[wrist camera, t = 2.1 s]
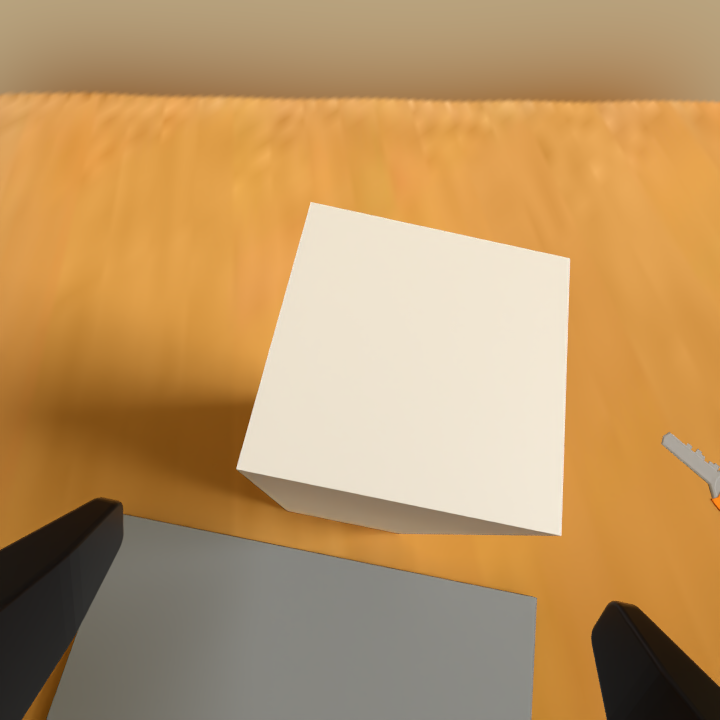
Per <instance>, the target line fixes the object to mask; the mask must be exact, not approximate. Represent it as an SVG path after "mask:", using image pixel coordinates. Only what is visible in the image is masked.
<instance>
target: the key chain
mask: <svg viewBox="0 0 720 720" xmlns="http://www.w3.org/2000/svg"><path fill="white" fill-rule="evenodd" d="M662 445H663V446H664V447H666V448H667V449H668V450H669V451H670V452H671V453H673V454H674V455H675V456H676V457H677V458H678V459H680V460H681V461H682V462H683V463H684V464H685V465H687V466H688V467H689V468H690V469H691V470H693V471H694V472H695V473H696V474H697V475H699V476H700V477H701V478H702V479H703V480H705V481H706V482H707V483H708V484H709V488H710V492H711V495H712V498H713V499H711V500H712V502H713V503H714V504H715V505H716V506H717V508H718V509H719V510H720V471H717V470H718V469H719V466H718V465H717V464H716V463H715V464H713V463H712V462H710V461H709V463H707V462H705V461H704V459H705V457H704V456H703V455H702V454H701V453H702V452H701V451H700V450H699V449H697V451H696V452H695V453H694V452H693V451H692V450H691V448H692V446H691V445H690V444H687V446H686V445H685V444H683V443H682V442H681V441H680V440H678V439H677V438H676V437H675V436H674V435H672V434H671V433H670V432H669V433H667V434H666V435H664V436H663V439H662Z"/></svg>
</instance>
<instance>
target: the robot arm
mask: <svg viewBox="0 0 720 720" xmlns="http://www.w3.org/2000/svg"><path fill="white" fill-rule="evenodd" d="M123 535H124V528H123V505H122V503H121V502H120V501H117V500H112V499H107V498H102V497H100V498H96V499H93V500H91V501H90V502H88V503H86V504H84V505H82V506H80V507H78V508H77V509H75V510H73V511H71V512H69V513H67V514H66V515H64V516H62V517H60V518H58V519H56V520H54V521H53V522H51V523H49V524H47V525H45V526H43V527H42V528H40V529H38V530H36V531H34V532H32V533H31V534H29V535H27V536H25V537H23V538H21V539H19V540H18V541H16V542H14V543H12V544H10V545H8V546H7V547H5V548H3V549H1V550H0V720H22V718H23V717H24V715H25V714H26V712H27V710H28V709H29V707H30V706H31V704H32V703H33V701H34V699H35V698H36V696H37V695H38V693H39V692H40V690H41V689H42V687H43V685H44V684H45V682H46V681H47V679H48V678H49V676H50V674H51V673H52V671H53V670H54V668H55V667H56V665H57V663H58V662H59V660H60V659H61V657H62V656H63V654H64V652H65V651H66V649H67V648H68V646H69V644H70V643H71V641H72V639H73V638H74V636H75V634H76V633H77V631H78V629H79V627H80V625H81V623H82V622H83V620H84V618H85V616H86V614H87V612H88V610H89V608H90V606H91V604H92V602H93V600H94V598H95V596H96V594H97V592H98V590H99V588H100V586H101V584H102V582H103V580H104V579H105V577H106V575H107V573H108V571H109V569H110V567H111V565H112V563H113V561H114V559H115V557H116V555H117V553H118V551H119V549H120V547H121V544H122V541H123ZM591 640H592V647H593V652H594V657H595V662H596V667H597V672H598V677H599V682H600V687H601V692H602V697H603V702H604V707H605V712H606V717H607V720H720V687H719V686H718V685H717V684H716V683H715V682H714V681H713V680H712V679H711V678H710V677H709V676H708V675H707V674H706V673H705V672H704V671H703V670H702V669H701V668H700V667H699V666H698V665H697V664H696V663H695V662H694V661H693V660H691V659H690V658H689V657H688V656H687V655H686V654H685V653H684V652H683V651H682V650H681V649H680V648H679V647H678V646H677V645H676V644H675V643H674V642H673V641H672V640H671V639H670V638H669V637H668V636H667V635H666V634H665V633H664V632H663V631H662V630H661V629H660V628H659V627H658V626H657V625H656V624H655V623H654V622H653V621H652V620H651V619H650V618H649V617H648V616H647V615H646V614H644V613H643V612H642V611H641V610H640V609H639V608H638V607H637V606H635V605H633V604H628V603H624V602H619V601H612V602H610V603H609V604H608V605H607V606H606V608H605V610H604V611H603V613H602V614H601V616H600V618H599V619H598V621H597V623H596V624H595V626H594V628H593V630H592V636H591Z"/></svg>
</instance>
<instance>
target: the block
mask: <svg viewBox="0 0 720 720" xmlns="http://www.w3.org/2000/svg"><path fill="white" fill-rule="evenodd" d="M569 275H570V258H566V257H561V256H557V255H552V254H547V253H543V252H538V251H534V250H529V249H524V248H520V247H515V246H511V245H506V244H501V243H497V242H492V241H488V240H483V239H478V238H474V237H469V236H465V235H460V234H455V233H451V232H446V231H442V230H437V229H432V228H428V227H423V226H419V225H414V224H409V223H405V222H400V221H396V220H391V219H386V218H382V217H377V216H373V215H368V214H363V213H359V212H354V211H350V210H345V209H340V208H336V207H331V206H327V205H322V204H317V203H313V202H311V204H310V207H309V211H308V214H307V218H306V221H305V225H304V229H303V232H302V236H301V239H300V243H299V246H298V250H297V254H296V257H295V261H294V264H293V268H292V271H291V275H290V279H289V282H288V286H287V289H286V293H285V296H284V300H283V304H282V307H281V311H280V314H279V318H278V321H277V325H276V329H275V332H274V336H273V339H272V343H271V346H270V350H269V354H268V357H267V361H266V364H265V368H264V371H263V375H262V379H261V382H260V386H259V389H258V393H257V396H256V400H255V404H254V407H253V411H252V414H251V418H250V421H249V425H248V429H247V432H246V436H245V439H244V443H243V446H242V450H241V453H240V457H239V461H238V464H237V468H236V469H237V470H238V471H239V472H240V473H241V474H243V475H244V476H245V477H246V478H248V479H249V480H250V481H251V482H252V483H254V484H255V485H256V486H257V487H259V488H260V489H261V490H262V491H264V492H265V493H266V494H267V495H268V496H270V497H271V498H272V499H273V500H275V501H276V502H277V503H278V504H279V505H281V506H282V507H283V508H284V509H286V510H287V511H290V512H295V513H300V514H305V515H310V516H315V517H320V518H324V519H329V520H334V521H339V522H344V523H349V524H354V525H359V526H364V527H369V528H374V529H378V530H383V531H388V532H393V533H398V534H463V535H541V536H561V529H562V498H563V466H564V434H565V402H566V371H567V339H568V307H569Z"/></svg>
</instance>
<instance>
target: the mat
mask: <svg viewBox="0 0 720 720" xmlns="http://www.w3.org/2000/svg"><path fill="white" fill-rule="evenodd" d="M123 528H124V535H123V541H122V544H121V547H120V549H119V551H118V553H117V555H116V557H115V559H114V561H113V563H112V565H111V567H110V569H109V571H108V573H107V575H106V577H105V579H104V580H103V582H102V584H101V586H100V588H99V590H98V592H97V594H96V596H95V598H94V600H93V602H92V604H91V606H90V608H89V610H88V612H87V614H86V616H85V618H84V620H83V622H82V623H81V625H80V627H79V629H78V632H77V635H76V638H75V641H74V643H73V646H72V649H71V652H70V655H69V657H68V660H67V663H66V666H65V669H64V671H63V674H62V677H61V680H60V683H59V685H58V688H57V691H56V694H55V697H54V699H53V702H52V705H51V708H50V711H49V713H48V716H47V719H46V720H531V713H532V692H533V670H534V649H535V627H536V605H537V598H535V597H532V596H527V595H522V594H517V593H512V592H507V591H502V590H497V589H492V588H487V587H482V586H477V585H472V584H467V583H462V582H457V581H452V580H447V579H442V578H438V577H433V576H428V575H423V574H418V573H413V572H408V571H403V570H398V569H393V568H388V567H383V566H378V565H373V564H368V563H363V562H358V561H353V560H348V559H343V558H338V557H334V556H329V555H324V554H319V553H314V552H309V551H304V550H299V549H294V548H289V547H284V546H279V545H274V544H269V543H264V542H259V541H254V540H249V539H244V538H239V537H234V536H230V535H225V534H220V533H215V532H210V531H205V530H200V529H195V528H190V527H185V526H180V525H175V524H170V523H165V522H160V521H155V520H150V519H145V518H140V517H135V516H130V515H126V514H123Z"/></svg>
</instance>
